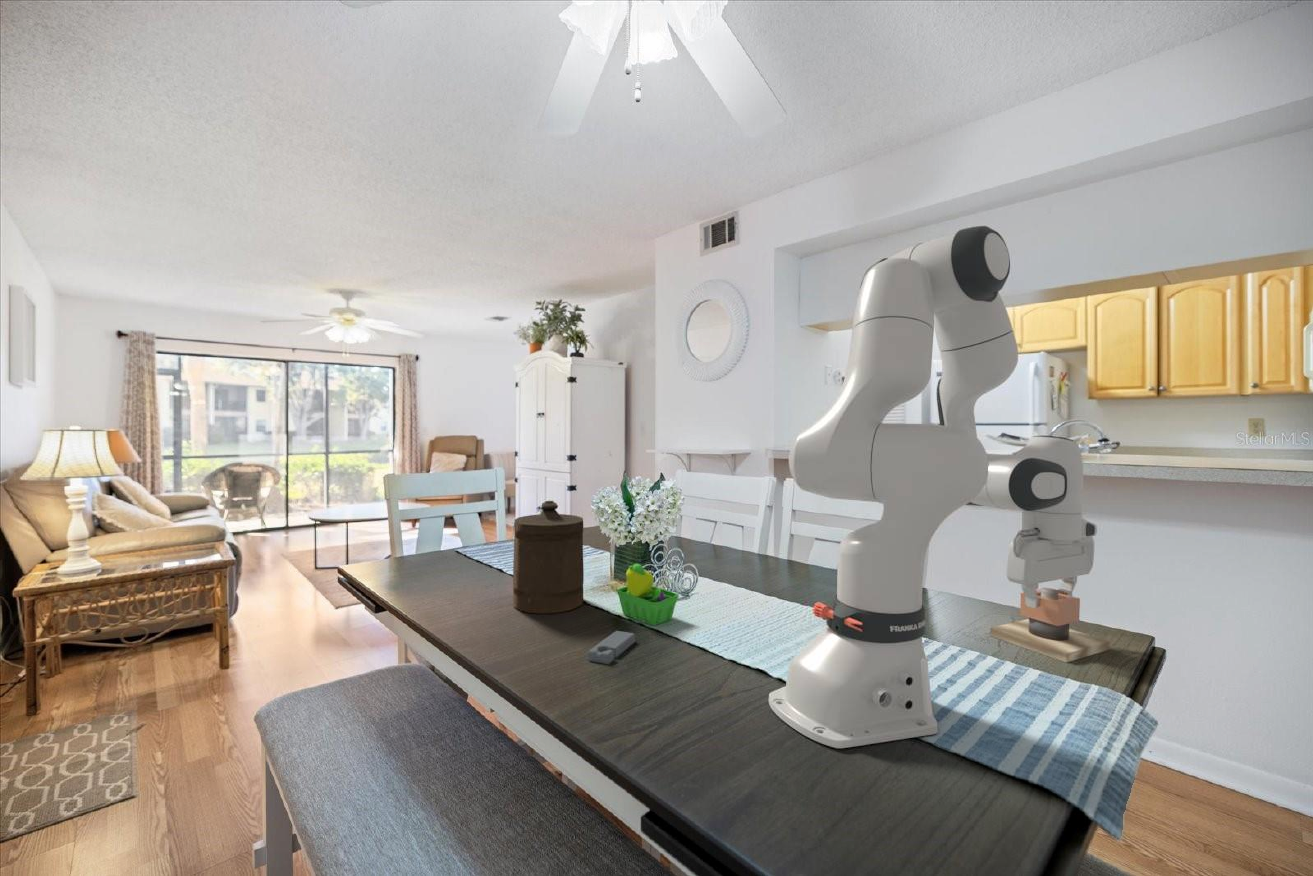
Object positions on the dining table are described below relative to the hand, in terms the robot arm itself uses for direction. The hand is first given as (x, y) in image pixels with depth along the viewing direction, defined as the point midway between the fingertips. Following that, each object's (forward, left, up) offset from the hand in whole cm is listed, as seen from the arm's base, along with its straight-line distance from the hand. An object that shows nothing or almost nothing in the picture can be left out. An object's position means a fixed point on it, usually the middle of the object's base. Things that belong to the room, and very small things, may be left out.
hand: (1049, 603), depth 102 cm
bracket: (-72, +29, -8) cm, 79 cm away
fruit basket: (-60, +42, -7) cm, 74 cm away
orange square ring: (0, 0, -3) cm, 3 cm away
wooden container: (-75, +59, -7) cm, 96 cm away
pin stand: (0, 0, -7) cm, 7 cm away
